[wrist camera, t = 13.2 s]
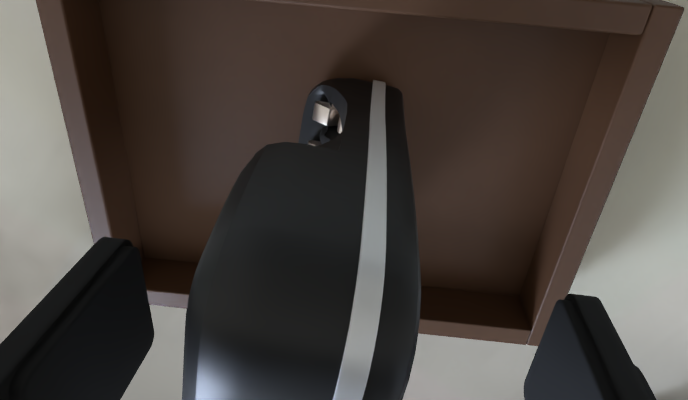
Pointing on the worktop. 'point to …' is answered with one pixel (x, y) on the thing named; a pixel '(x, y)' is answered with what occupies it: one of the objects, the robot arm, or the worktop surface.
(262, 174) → the battery charger
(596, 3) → the tray
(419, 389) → the worktop surface
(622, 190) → the worktop surface
